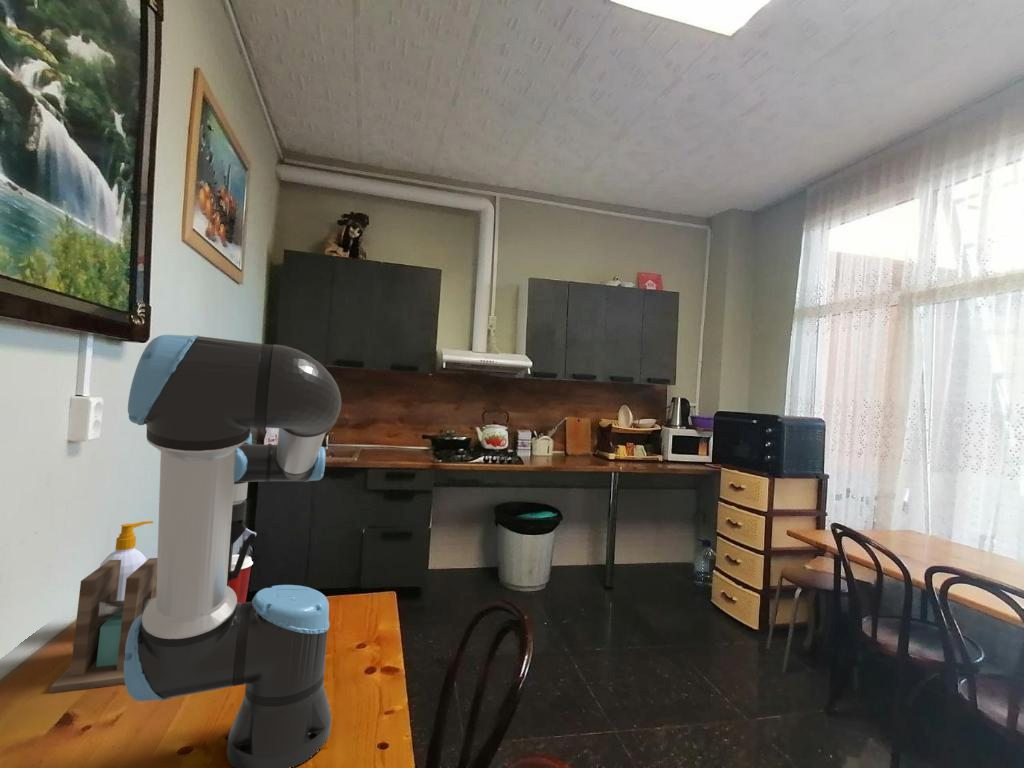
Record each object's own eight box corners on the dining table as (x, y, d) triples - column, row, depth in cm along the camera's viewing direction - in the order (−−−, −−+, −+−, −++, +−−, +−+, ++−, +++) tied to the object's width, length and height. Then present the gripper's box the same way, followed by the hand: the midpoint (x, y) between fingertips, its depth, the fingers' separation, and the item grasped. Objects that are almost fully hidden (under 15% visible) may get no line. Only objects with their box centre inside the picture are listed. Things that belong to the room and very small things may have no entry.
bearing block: (163, 679, 89) (173, 581, 90) (49, 693, 83) (61, 587, 84) (190, 634, 106) (198, 552, 107) (97, 643, 100) (107, 556, 101)
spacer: (119, 664, 91) (123, 625, 91) (96, 666, 90) (100, 627, 90) (134, 645, 98) (138, 608, 98) (113, 647, 96) (117, 610, 97)
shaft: (195, 621, 96) (198, 594, 97) (86, 631, 90) (89, 602, 90) (202, 610, 101) (205, 584, 102) (99, 618, 95) (102, 590, 95)
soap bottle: (152, 626, 108) (162, 523, 109) (102, 643, 100) (114, 531, 101) (132, 617, 112) (143, 517, 113) (83, 632, 104) (95, 524, 105)
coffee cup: (236, 611, 118) (241, 551, 119) (254, 620, 114) (260, 558, 115) (200, 623, 111) (206, 559, 112) (219, 633, 107) (225, 567, 108)
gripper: (262, 497, 107) (252, 602, 106) (195, 498, 102) (184, 608, 101) (258, 504, 100) (247, 616, 99) (186, 505, 95) (174, 623, 94)
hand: (215, 612), depth 100 cm, fingers closed
